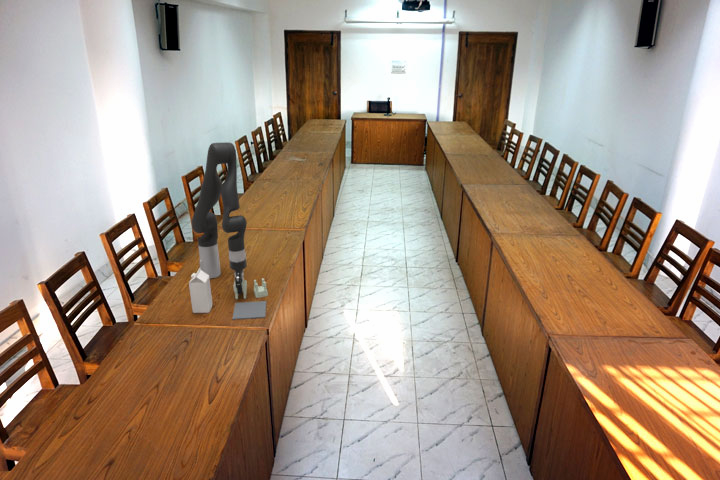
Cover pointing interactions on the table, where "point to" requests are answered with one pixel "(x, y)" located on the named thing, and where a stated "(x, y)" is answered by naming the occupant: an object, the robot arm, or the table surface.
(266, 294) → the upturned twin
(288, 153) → the table surface
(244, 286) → the cube with twin tabs
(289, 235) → the table surface
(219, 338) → the table surface
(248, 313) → the mat
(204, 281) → the milk carton
